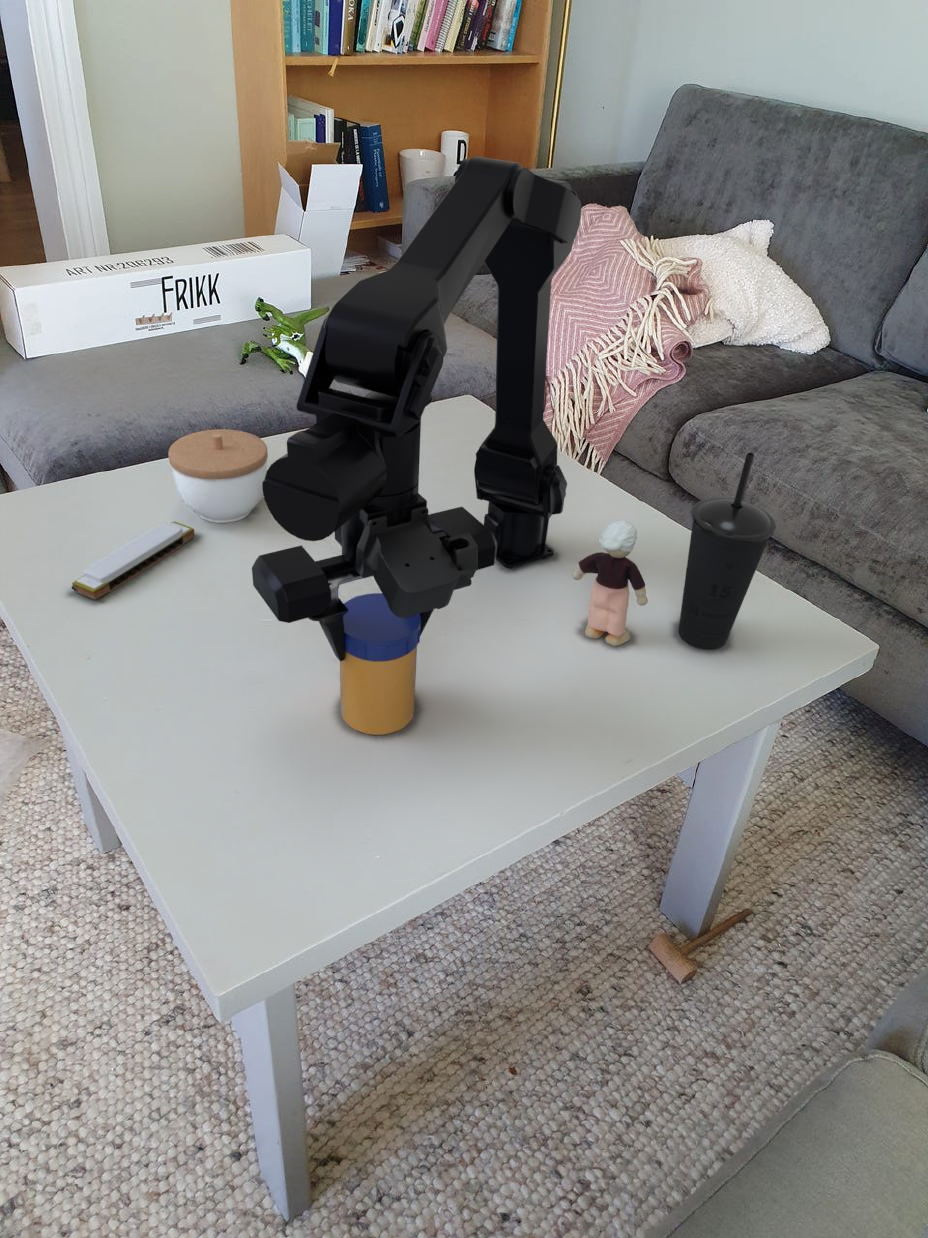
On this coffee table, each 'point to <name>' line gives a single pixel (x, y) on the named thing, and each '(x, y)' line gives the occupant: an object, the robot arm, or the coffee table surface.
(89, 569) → the harmonica
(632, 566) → the grandmother figurine
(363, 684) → the jar
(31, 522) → the coffee table surface
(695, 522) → the drinking cup
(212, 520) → the trinket box
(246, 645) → the coffee table surface
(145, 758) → the coffee table surface
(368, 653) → the lid
